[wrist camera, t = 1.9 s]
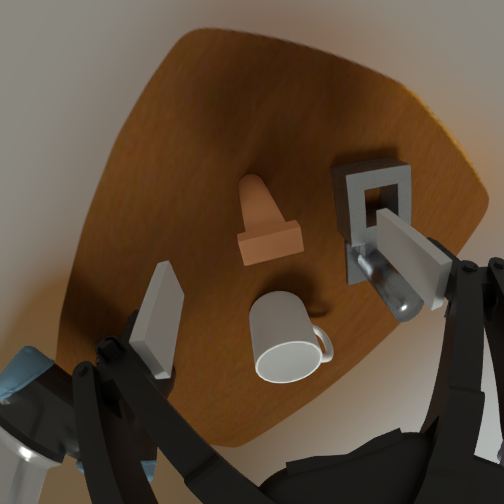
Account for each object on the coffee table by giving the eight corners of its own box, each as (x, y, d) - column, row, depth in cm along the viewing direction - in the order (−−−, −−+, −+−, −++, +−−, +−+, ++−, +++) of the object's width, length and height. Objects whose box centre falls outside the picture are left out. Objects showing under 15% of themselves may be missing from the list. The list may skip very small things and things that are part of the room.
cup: (261, 282, 37) (272, 336, 28) (333, 300, 40) (357, 348, 31) (240, 325, 41) (245, 379, 32) (309, 338, 43) (325, 386, 35)
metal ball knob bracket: (341, 283, 39) (375, 341, 28) (330, 166, 30) (381, 196, 20) (391, 268, 38) (432, 317, 28) (389, 157, 30) (452, 182, 20)
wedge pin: (237, 202, 32) (247, 273, 18) (230, 178, 30) (235, 233, 17) (270, 194, 31) (305, 258, 18) (265, 170, 30) (298, 217, 17)
